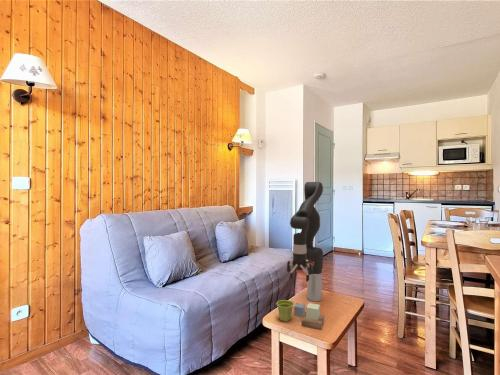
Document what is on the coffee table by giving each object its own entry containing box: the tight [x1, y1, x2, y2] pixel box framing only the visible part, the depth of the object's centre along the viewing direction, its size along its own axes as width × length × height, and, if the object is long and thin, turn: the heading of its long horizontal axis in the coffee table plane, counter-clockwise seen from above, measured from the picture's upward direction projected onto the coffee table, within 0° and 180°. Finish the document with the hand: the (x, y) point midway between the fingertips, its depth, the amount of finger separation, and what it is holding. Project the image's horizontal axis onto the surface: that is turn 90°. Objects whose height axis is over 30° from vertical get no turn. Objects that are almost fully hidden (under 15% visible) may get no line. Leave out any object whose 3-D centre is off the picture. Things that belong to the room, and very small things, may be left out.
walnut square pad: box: [301, 311, 325, 331], centre depth 149 cm, size 10×10×3 cm
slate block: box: [293, 302, 306, 318], centre depth 160 cm, size 5×5×5 cm
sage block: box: [305, 302, 321, 321], centre depth 149 cm, size 6×6×6 cm
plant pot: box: [276, 299, 295, 323], centre depth 154 cm, size 9×9×9 cm
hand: (299, 280), depth 160 cm, fingers open, 8 cm apart
